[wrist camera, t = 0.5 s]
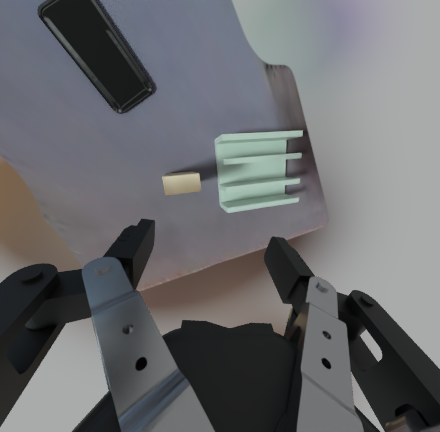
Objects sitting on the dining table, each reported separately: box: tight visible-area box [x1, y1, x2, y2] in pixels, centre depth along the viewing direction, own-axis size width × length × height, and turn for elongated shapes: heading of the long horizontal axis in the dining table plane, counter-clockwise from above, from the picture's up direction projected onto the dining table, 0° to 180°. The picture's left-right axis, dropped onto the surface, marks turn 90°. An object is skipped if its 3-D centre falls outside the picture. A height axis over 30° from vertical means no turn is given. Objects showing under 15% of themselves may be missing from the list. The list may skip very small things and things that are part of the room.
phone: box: [38, 0, 152, 114], centre depth 27 cm, size 8×1×15 cm
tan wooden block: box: [162, 171, 201, 195], centre depth 29 cm, size 2×5×12 cm, turn 95°
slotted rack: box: [215, 130, 303, 213], centre depth 35 cm, size 14×16×6 cm
